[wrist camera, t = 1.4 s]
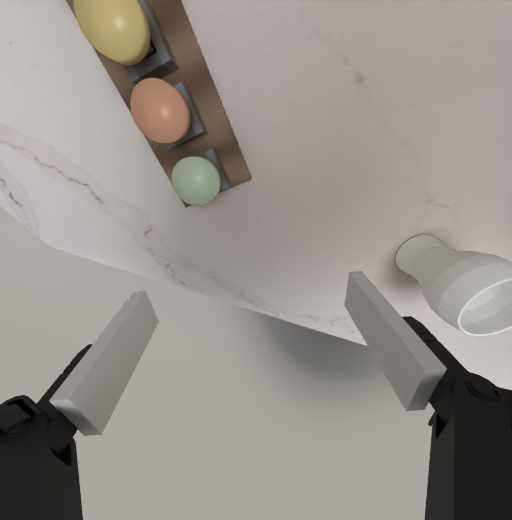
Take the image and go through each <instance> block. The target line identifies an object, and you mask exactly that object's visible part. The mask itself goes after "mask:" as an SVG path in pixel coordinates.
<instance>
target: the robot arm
mask: <svg viewBox="0 0 512 520" xmlns="http://www.w3.org/2000/svg"><path fill="white" fill-rule="evenodd" d="M345 307H346V309H347V311H348V312H349V314H350V316H351V318H352V319H353V321H354V323H355V324H356V326H357V328H358V330H359V331H360V333H361V335H362V336H363V338H364V340H365V341H366V343H367V345H368V347H369V348H370V350H371V352H372V353H373V355H374V357H375V359H376V360H377V362H378V363H379V365H380V367H381V369H382V370H383V372H384V374H385V376H386V377H387V379H388V381H389V382H390V384H391V386H392V387H393V389H394V391H395V393H396V394H397V396H398V398H399V400H400V401H401V403H402V405H403V406H404V408H405V410H406V411H411V410H424V409H425V408H426V406H427V404H428V402H430V404H431V405H432V407H433V408H434V410H435V412H434V414H433V415H432V417H431V419H430V420H429V423H428V425H429V426H432V424H433V426H432V438H431V450H430V462H429V475H428V487H427V498H426V510H425V520H512V390H508V389H503V388H499V387H497V386H496V385H494V384H493V383H492V382H490V381H489V380H487V379H485V378H483V377H481V376H480V375H477V374H474V373H470V372H468V371H467V370H466V369H465V368H464V367H463V366H462V365H461V364H460V363H459V362H458V361H457V360H456V358H455V357H454V356H453V355H452V354H451V353H450V352H449V351H448V350H447V349H446V348H445V347H444V346H443V345H442V344H441V343H440V342H439V341H437V339H436V338H435V337H434V336H433V334H431V333H430V331H429V330H428V329H427V328H426V327H425V326H424V325H423V324H422V323H420V322H419V321H417V320H416V319H414V318H413V317H411V316H408V317H401V316H400V315H399V313H398V312H397V311H396V310H395V309H394V308H393V307H392V305H391V304H390V303H389V302H388V301H387V300H386V299H385V297H384V296H383V295H382V294H381V293H380V292H379V291H378V289H377V288H376V287H375V286H374V285H373V284H372V283H371V281H370V280H369V279H368V278H367V277H366V276H365V275H364V274H363V272H362V271H358V272H349V278H348V285H347V292H346V299H345ZM158 322H159V321H158V319H157V317H156V314H155V312H154V310H153V307H152V305H151V303H150V300H149V298H148V296H147V293H146V291H138V292H133V294H132V295H131V296H130V297H129V299H128V300H127V301H126V303H125V304H124V305H123V307H122V308H121V309H120V311H119V312H118V313H117V314H116V315H115V317H114V318H113V319H112V321H111V322H110V323H109V324H108V326H107V327H106V328H105V330H104V331H103V332H102V333H101V335H100V336H99V337H98V339H97V340H96V341H95V342H94V344H89V345H87V346H86V347H85V348H84V349H83V350H81V351H80V352H79V353H78V354H77V355H76V356H75V358H74V359H73V360H72V361H71V362H70V365H68V366H67V367H66V369H65V370H64V371H63V373H62V374H61V375H60V376H59V377H58V378H57V380H56V381H55V382H54V383H53V385H52V386H51V387H50V388H49V389H48V391H47V392H46V393H45V394H44V395H43V397H42V398H41V399H40V400H39V402H38V403H37V404H36V403H35V402H34V401H32V400H31V399H30V398H29V397H28V396H25V395H21V396H16V397H13V398H11V399H9V400H7V401H5V402H4V403H2V404H0V520H83V516H82V505H81V494H80V484H79V473H78V463H77V452H76V443H75V440H74V438H73V436H74V434H75V433H76V431H77V429H78V430H79V431H80V432H81V433H82V434H83V435H84V436H87V435H101V434H102V433H103V431H104V429H105V427H106V425H107V423H108V421H109V419H110V417H111V415H112V413H113V411H114V409H115V407H116V405H117V403H118V401H119V399H120V397H121V395H122V393H123V391H124V389H125V387H126V385H127V383H128V382H129V379H130V378H131V376H132V374H133V372H134V370H135V368H136V366H137V364H138V362H139V360H140V358H141V356H142V354H143V352H144V350H145V348H146V346H147V344H148V342H149V340H150V338H151V336H152V334H153V332H154V330H155V328H156V326H157V324H158Z"/></svg>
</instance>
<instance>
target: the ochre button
mask: <svg viewBox="0 0 512 520" xmlns="http://www.w3.org/2000/svg"><path fill="white" fill-rule="evenodd" d="M73 1H74V10H75V14H76V18H77V21H78V24H79V26H80V28H81V30H82V32H83V34H84V35H85V37H86V38H87V40H88V41H89V42H90V43H91V45H92V46H93V47H94V48H95V49H97V50H98V51H99V52H100V53H102V54H103V55H105V56H107V57H108V58H110V59H112V60H113V61H115V62H117V63H119V64H122V65H128V66H129V65H135V64H137V63H139V62H140V61H142V59H144V58H146V57H147V56H149V55H151V54H152V53H154V52H155V51H154V49H153V47H152V44H151V42H150V28H149V23H148V20H147V17H146V14H145V12H144V10H143V8H142V6H141V4H140V3H139V1H138V0H73Z"/></svg>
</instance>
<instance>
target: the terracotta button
mask: <svg viewBox="0 0 512 520" xmlns="http://www.w3.org/2000/svg"><path fill="white" fill-rule="evenodd" d="M130 106H131V113H132V116H133V119H134V121H135V123H136V125H137V126H138V128H139V129H140V131H141V132H142V133H143V134H144V135H145V136H147V137H148V138H149V139H151V140H153V141H156V142H159V143H175V142H178V141H180V140H181V139H182V138H184V136H185V135H186V134H187V132H188V130H189V127H190V111H189V107H188V105H187V102H186V101H185V99H184V97H183V96H182V95H181V93H180V92H179V91H178V90H177V89H175V88H174V87H172V86H171V85H170V84H168V83H167V82H165V81H163V80H161V79H157V78H147V79H144V80H142V81H140V82H139V83H138V84H137V85H136V86H135V88H134V90H133V92H132V95H131V101H130Z"/></svg>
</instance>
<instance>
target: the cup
mask: <svg viewBox="0 0 512 520" xmlns="http://www.w3.org/2000/svg"><path fill="white" fill-rule="evenodd" d="M395 261H396V265H397V267H398V268H399V269H401V270H402V271H404V272H405V273H407V274H409V275H411V276H413V277H414V278H415V279H416V280H417V281H418V282H419V283H420V286H421V291H422V293H423V295H424V297H425V299H426V301H427V303H428V304H429V306H430V308H431V309H432V310H433V311H434V312H435V313H436V314H437V315H438V316H439V317H441V318H442V319H443V320H444V321H445V322H447V323H449V324H450V325H452V326H454V327H455V328H457V329H459V330H460V331H462V332H464V333H466V334H469V335H472V336H486V335H492V334H496V333H500V332H503V331H505V330H508V329H510V328H512V262H510V261H507V260H505V259H503V258H501V257H499V256H496V255H492V254H486V253H481V252H474V251H457V250H454V249H451V248H448V247H447V246H446V245H444V244H443V243H442V242H441V241H440V240H438V239H437V238H436V237H434V236H432V235H426V234H424V235H418V236H415V237H413V238H411V239H409V240H407V241H406V242H405V243H404V244H403V245H402V246H401V247H400V248H399V250H398V252H397V254H396V258H395Z"/></svg>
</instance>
